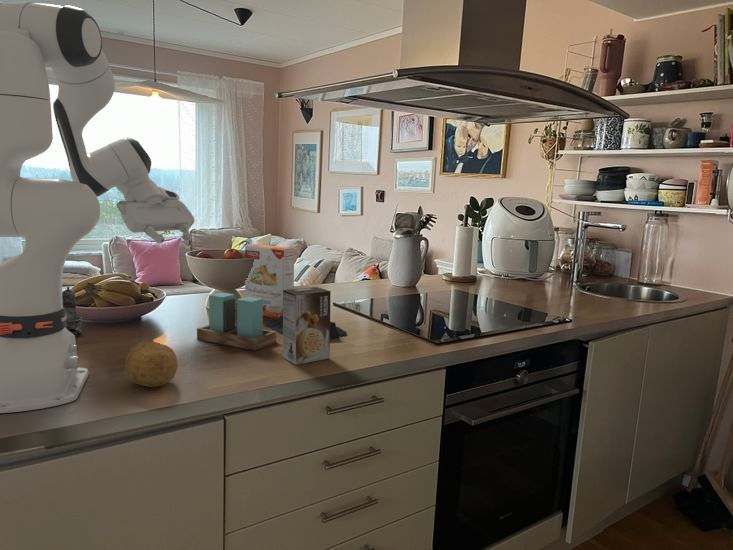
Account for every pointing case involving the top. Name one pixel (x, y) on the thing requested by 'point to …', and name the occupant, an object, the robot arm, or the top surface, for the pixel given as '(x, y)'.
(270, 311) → the cracker box
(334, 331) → the dark slate chunk
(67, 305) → the figurine
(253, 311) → the turquoise rectangular block
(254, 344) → the wooden compartment tray
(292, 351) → the grey cardboard box
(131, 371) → the potato
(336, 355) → the top surface
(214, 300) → the tall teal pillar
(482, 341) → the top surface
